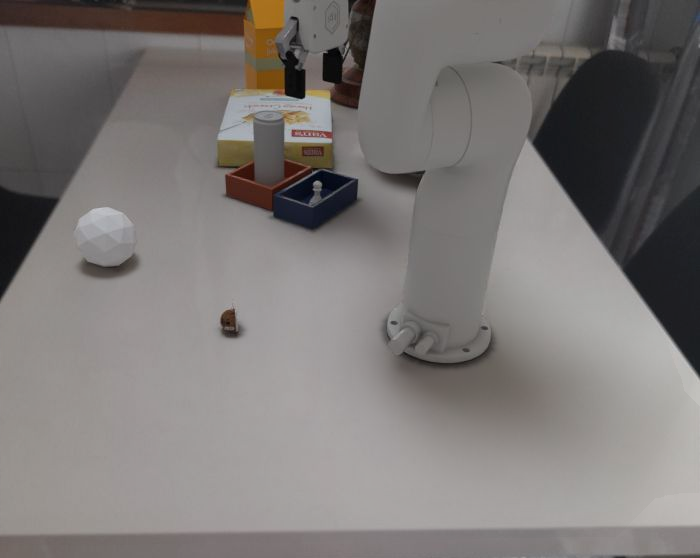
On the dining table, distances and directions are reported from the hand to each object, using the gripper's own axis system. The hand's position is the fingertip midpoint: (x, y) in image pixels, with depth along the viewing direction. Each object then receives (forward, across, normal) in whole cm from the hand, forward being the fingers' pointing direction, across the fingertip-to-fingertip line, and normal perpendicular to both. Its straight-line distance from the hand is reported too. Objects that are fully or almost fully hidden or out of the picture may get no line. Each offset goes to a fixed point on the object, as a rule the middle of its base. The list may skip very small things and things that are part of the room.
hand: (314, 89), depth 105 cm
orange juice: (+17, +41, +39) cm, 59 cm away
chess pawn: (+18, -1, -2) cm, 18 cm away
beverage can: (+17, 0, +8) cm, 19 cm away
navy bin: (+18, -1, -1) cm, 18 cm away
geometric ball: (+18, -32, +12) cm, 39 cm away
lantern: (+17, +54, +21) cm, 60 cm away
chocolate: (+19, -35, -11) cm, 41 cm away
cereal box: (+18, +19, +20) cm, 33 cm away
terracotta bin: (+18, 0, +8) cm, 19 cm away
